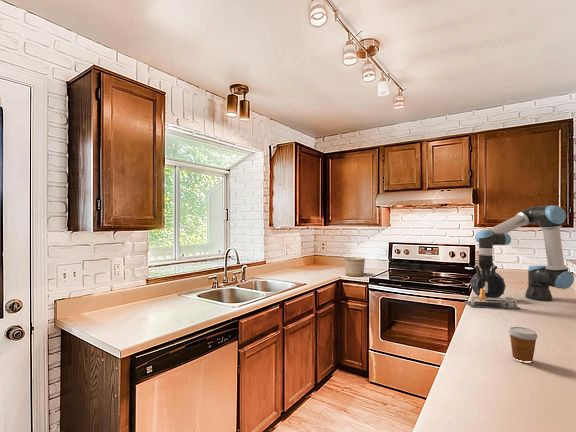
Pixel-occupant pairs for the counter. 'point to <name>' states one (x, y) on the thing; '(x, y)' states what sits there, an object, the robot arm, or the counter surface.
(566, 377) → the counter surface
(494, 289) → the studded round pot
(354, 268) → the planter
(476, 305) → the bolt plate
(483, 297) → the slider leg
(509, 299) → the grey slide rail
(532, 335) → the disposable coffee cup
